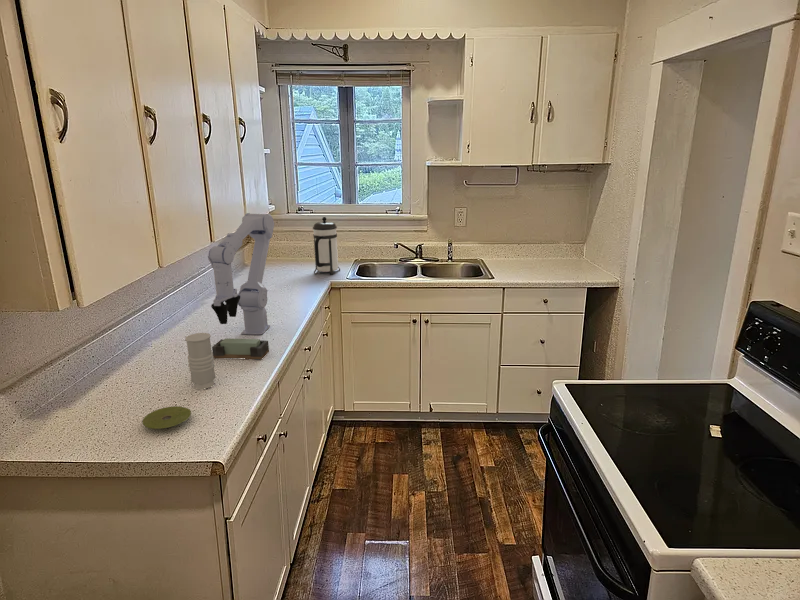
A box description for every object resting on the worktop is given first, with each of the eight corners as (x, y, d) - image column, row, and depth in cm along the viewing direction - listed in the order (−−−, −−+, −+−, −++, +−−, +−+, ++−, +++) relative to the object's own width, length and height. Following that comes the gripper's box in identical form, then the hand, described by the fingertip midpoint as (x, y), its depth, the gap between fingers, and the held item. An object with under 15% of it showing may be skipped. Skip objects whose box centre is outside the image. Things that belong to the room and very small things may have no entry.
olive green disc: (178, 408, 141) (177, 401, 140) (200, 422, 134) (199, 415, 133) (135, 425, 133) (134, 418, 132) (156, 440, 126) (155, 433, 125)
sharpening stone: (226, 349, 178) (225, 338, 177) (260, 350, 177) (259, 339, 176) (221, 354, 174) (220, 342, 173) (256, 355, 173) (255, 343, 172)
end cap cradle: (222, 350, 180) (221, 339, 179) (269, 351, 178) (268, 340, 177) (213, 358, 174) (211, 347, 172) (261, 359, 172) (260, 348, 171)
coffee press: (308, 271, 291) (304, 216, 282) (336, 268, 297) (333, 214, 289) (317, 278, 276) (313, 220, 267) (346, 274, 282) (343, 218, 274)
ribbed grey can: (210, 378, 159) (204, 330, 155) (220, 385, 154) (214, 337, 150) (188, 384, 155) (181, 336, 150) (197, 392, 150) (190, 343, 145)
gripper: (226, 287, 170) (230, 327, 174) (243, 276, 184) (247, 313, 188) (205, 287, 171) (210, 326, 175) (224, 276, 185) (228, 313, 189)
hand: (228, 320), depth 182 cm, fingers open, 7 cm apart
